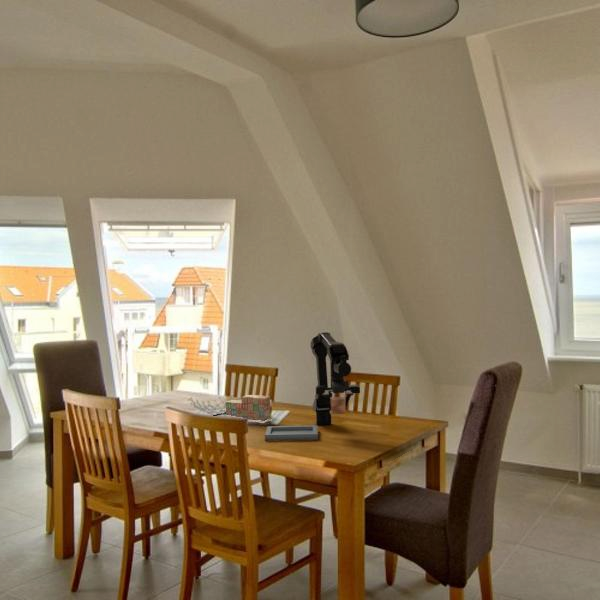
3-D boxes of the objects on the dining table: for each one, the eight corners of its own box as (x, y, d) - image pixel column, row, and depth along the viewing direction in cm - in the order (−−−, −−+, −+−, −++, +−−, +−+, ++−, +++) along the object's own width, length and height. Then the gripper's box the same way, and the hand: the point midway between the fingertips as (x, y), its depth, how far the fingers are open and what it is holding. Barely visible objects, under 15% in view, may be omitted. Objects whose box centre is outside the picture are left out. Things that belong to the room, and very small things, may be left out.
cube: (331, 414, 251) (331, 399, 251) (330, 411, 257) (330, 397, 257) (345, 413, 251) (345, 399, 251) (344, 410, 257) (344, 397, 257)
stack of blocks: (225, 421, 288) (224, 395, 288) (232, 418, 294) (231, 393, 294) (264, 424, 280) (264, 397, 280) (270, 421, 286) (270, 395, 285)
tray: (264, 441, 247) (264, 435, 247) (267, 432, 263) (267, 426, 263) (317, 439, 247) (317, 433, 247) (317, 431, 263) (317, 425, 263)
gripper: (315, 376, 246) (316, 413, 246) (361, 375, 246) (361, 412, 246) (315, 372, 257) (315, 408, 257) (358, 371, 257) (359, 407, 257)
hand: (337, 409), depth 254 cm, fingers closed on cube, 6 cm apart
